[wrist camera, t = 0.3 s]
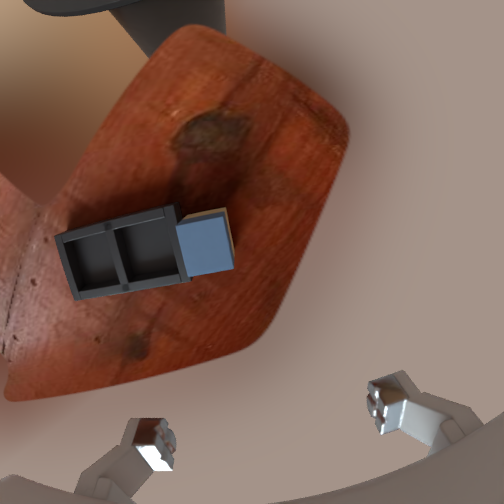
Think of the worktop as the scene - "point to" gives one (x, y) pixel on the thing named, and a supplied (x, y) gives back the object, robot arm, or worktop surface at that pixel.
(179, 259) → the backing frame
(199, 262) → the pad blue
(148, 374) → the worktop surface
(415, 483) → the robot arm
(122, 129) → the worktop surface
